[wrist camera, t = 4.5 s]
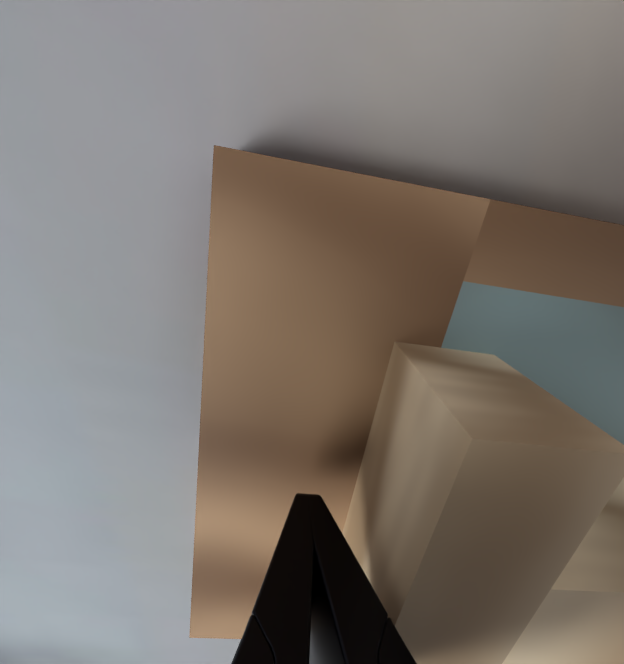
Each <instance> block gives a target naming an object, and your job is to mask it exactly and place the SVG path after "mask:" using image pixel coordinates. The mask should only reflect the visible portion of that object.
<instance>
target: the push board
mask: <svg viewBox="0 0 624 664" xmlns="http://www.w3.org/2000/svg"><path fill="white" fill-rule="evenodd" d="M394 342H402V343H409V344H417V345H424V346H432V347H439V348H447V349H455V350H462V351H470V352H477V353H485V354H493V355H495V356H497V357H498V358H500V359H501V360H503V361H504V362H505V363H507V364H508V365H510V366H511V367H513V368H514V369H515V370H517V371H518V372H520V373H521V374H523V375H524V376H526V377H527V378H528V379H530V380H531V381H533V382H534V383H536V384H537V385H538V386H540V387H541V388H543V389H544V390H546V391H547V392H548V393H550V394H551V395H553V396H554V397H556V398H557V399H559V400H560V401H561V402H563V403H564V404H566V405H567V406H569V407H570V408H571V409H573V410H574V411H576V412H577V413H579V414H580V415H582V416H583V417H584V418H586V419H587V420H589V421H590V422H592V423H593V424H594V425H596V426H597V427H599V428H600V429H602V430H603V431H604V432H606V433H607V434H609V435H610V436H612V437H613V438H615V439H616V440H617V441H619V442H620V443H622V444H623V445H624V225H620V224H615V223H610V222H605V221H599V220H594V219H589V218H584V217H579V216H574V215H569V214H564V213H558V212H553V211H548V210H543V209H538V208H533V207H528V206H523V205H517V204H512V203H507V202H502V201H497V200H492V199H487V198H482V197H477V196H471V195H466V194H461V193H456V192H451V191H446V190H441V189H436V188H430V187H425V186H420V185H415V184H410V183H405V182H400V181H395V180H389V179H384V178H379V177H374V176H369V175H364V174H359V173H354V172H349V171H343V170H338V169H333V168H328V167H323V166H318V165H313V164H308V163H302V162H297V161H292V160H287V159H282V158H277V157H272V156H267V155H262V154H256V153H251V152H246V151H241V150H236V149H231V148H226V147H221V146H215V145H214V154H213V174H212V194H211V214H210V234H209V255H208V275H207V295H206V315H205V335H204V356H203V376H202V396H201V416H200V437H199V457H198V477H197V497H196V517H195V538H194V558H193V578H192V598H191V618H190V638H224V639H242V636H243V634H244V631H245V628H246V626H247V623H248V620H249V617H250V616H251V614H252V610H253V607H254V605H255V602H256V599H257V596H258V594H259V591H260V588H261V586H262V583H263V580H264V578H265V575H266V572H267V570H268V567H269V564H270V562H271V559H272V556H273V553H274V551H275V548H276V545H277V543H278V540H279V537H280V535H281V532H282V529H283V527H284V524H285V521H286V518H287V516H288V513H289V510H290V508H291V505H292V502H293V500H294V497H295V495H296V494H297V493H303V494H318V495H320V496H321V497H322V498H323V500H324V502H325V504H326V506H327V507H328V509H329V511H330V513H331V514H332V516H333V518H334V520H335V521H336V523H337V525H338V527H339V529H340V530H341V532H342V533H343V529H344V525H345V522H346V518H347V514H348V511H349V507H350V503H351V500H352V496H353V492H354V489H355V485H356V481H357V478H358V474H359V470H360V467H361V463H362V459H363V456H364V452H365V448H366V445H367V441H368V437H369V434H370V430H371V426H372V423H373V419H374V415H375V412H376V408H377V404H378V401H379V397H380V393H381V390H382V386H383V382H384V379H385V375H386V371H387V368H388V364H389V360H390V357H391V353H392V349H393V345H394Z"/></svg>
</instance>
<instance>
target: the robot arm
mask: <svg viewBox="0 0 624 664" xmlns="http://www.w3.org/2000/svg"><path fill="white" fill-rule="evenodd" d="M387 617H388V613H387V612H386V610H385V608H384V606H383V605H382V603H381V601H380V599H379V597H378V596H377V594H376V592H375V590H374V589H373V587H372V585H371V583H370V582H369V580H368V578H367V576H366V574H365V573H364V571H363V569H362V567H361V566H360V564H359V562H358V560H357V559H356V557H355V555H354V553H353V552H352V550H351V548H350V546H349V544H348V543H347V541H346V539H345V537H344V536H343V534H342V532H341V530H340V529H339V527H338V525H337V523H336V521H335V520H334V518H333V516H332V514H331V513H330V511H329V509H328V507H327V506H326V504H325V502H324V500H323V498H322V497H321V496H320V495H318V494H303V493H297V494H296V495H295V497H294V500H293V502H292V505H291V508H290V510H289V513H288V516H287V518H286V521H285V524H284V527H283V529H282V532H281V535H280V537H279V540H278V543H277V545H276V548H275V551H274V553H273V556H272V559H271V562H270V564H269V567H268V570H267V572H266V575H265V578H264V580H263V583H262V586H261V588H260V591H259V594H258V596H257V599H256V602H255V605H254V607H253V610H252V614H251V616H250V617H249V620H248V623H247V626H246V628H245V631H244V634H243V636H242V639H241V641H240V644H239V646H238V649H237V651H236V654H235V656H234V658H233V661H232V663H231V664H417V663H416V661H415V660H414V658H413V656H412V655H411V653H410V651H409V650H408V648H407V646H406V645H405V643H404V641H403V639H402V638H401V636H400V634H399V633H398V631H397V629H396V627H395V626H394V624H393V622H392V620H391V618H389V617H388V618H387Z"/></svg>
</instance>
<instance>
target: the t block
mask: <svg viewBox="0 0 624 664" xmlns="http://www.w3.org/2000/svg"><path fill="white" fill-rule="evenodd" d="M342 534H343V536H344V537H345V539H346V541H347V543H348V544H349V546H350V548H351V550H352V552H353V553H354V555H355V557H356V559H357V560H358V562H359V564H360V566H361V567H362V569H363V571H364V573H365V574H366V576H367V578H368V580H369V582H370V583H371V585H372V587H373V589H374V590H375V592H376V594H377V596H378V597H379V599H380V601H381V603H382V605H383V606H384V608H385V610H386V612H387V613H388V617H389V618H391V620H392V622H393V624H394V626H395V627H396V629H397V631H398V633H399V634H400V636H401V638H402V639H403V641H404V643H405V645H406V646H407V648H408V650H409V651H410V653H411V655H412V656H413V658H414V660H415V661H416V663H417V664H624V445H623V444H622V443H620V442H619V441H617V440H616V439H615V438H613V437H612V436H610V435H609V434H607V433H606V432H604V431H603V430H602V429H600V428H599V427H597V426H596V425H594V424H593V423H592V422H590V421H589V420H587V419H586V418H584V417H583V416H582V415H580V414H579V413H577V412H576V411H574V410H573V409H571V408H570V407H569V406H567V405H566V404H564V403H563V402H561V401H560V400H559V399H557V398H556V397H554V396H553V395H551V394H550V393H548V392H547V391H546V390H544V389H543V388H541V387H540V386H538V385H537V384H536V383H534V382H533V381H531V380H530V379H528V378H527V377H526V376H524V375H523V374H521V373H520V372H518V371H517V370H515V369H514V368H513V367H511V366H510V365H508V364H507V363H505V362H504V361H503V360H501V359H500V358H498V357H497V356H495V355H493V354H485V353H477V352H470V351H462V350H455V349H447V348H439V347H432V346H424V345H417V344H409V343H402V342H394V345H393V349H392V353H391V357H390V360H389V364H388V368H387V371H386V375H385V379H384V382H383V386H382V390H381V393H380V397H379V401H378V404H377V408H376V412H375V415H374V419H373V423H372V426H371V430H370V434H369V437H368V441H367V445H366V448H365V452H364V456H363V459H362V463H361V467H360V470H359V474H358V478H357V481H356V485H355V489H354V492H353V496H352V500H351V503H350V507H349V511H348V514H347V518H346V522H345V525H344V529H343V533H342ZM388 617H387V618H388Z"/></svg>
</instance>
